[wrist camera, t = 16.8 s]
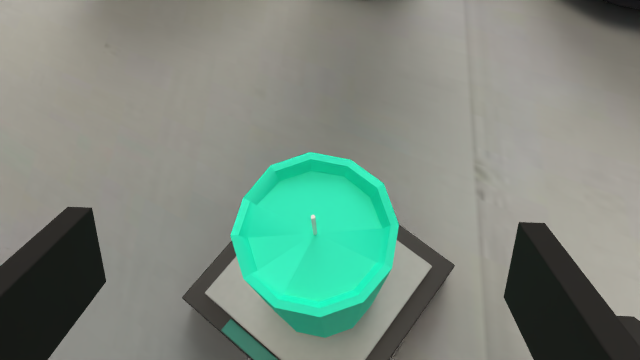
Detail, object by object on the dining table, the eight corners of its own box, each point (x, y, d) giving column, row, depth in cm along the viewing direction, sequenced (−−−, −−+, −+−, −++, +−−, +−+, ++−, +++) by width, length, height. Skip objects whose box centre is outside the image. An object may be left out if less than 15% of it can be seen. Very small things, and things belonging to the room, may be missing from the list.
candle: (335, 209, 29) (337, 104, 17) (398, 296, 27) (444, 241, 16) (247, 266, 28) (188, 193, 16) (305, 361, 26) (283, 352, 14)
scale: (335, 429, 27) (336, 436, 24) (192, 303, 30) (178, 295, 27) (446, 273, 30) (457, 263, 27) (306, 171, 33) (304, 152, 30)
